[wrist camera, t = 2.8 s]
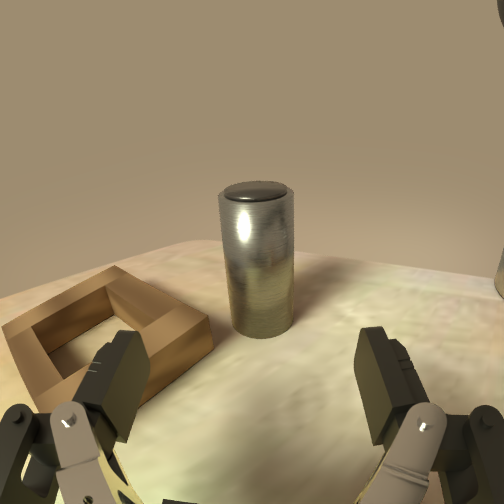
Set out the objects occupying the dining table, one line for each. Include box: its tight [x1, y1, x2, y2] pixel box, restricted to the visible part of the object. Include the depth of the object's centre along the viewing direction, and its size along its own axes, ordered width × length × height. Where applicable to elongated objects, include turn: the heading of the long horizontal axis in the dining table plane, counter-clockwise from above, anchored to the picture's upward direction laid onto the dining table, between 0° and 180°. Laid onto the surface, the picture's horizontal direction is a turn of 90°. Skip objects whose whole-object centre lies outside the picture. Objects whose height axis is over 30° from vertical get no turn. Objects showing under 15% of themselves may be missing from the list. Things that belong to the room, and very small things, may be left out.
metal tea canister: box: [218, 181, 294, 339], centre depth 22 cm, size 5×5×10 cm
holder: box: [2, 265, 214, 413], centre depth 20 cm, size 12×12×3 cm
